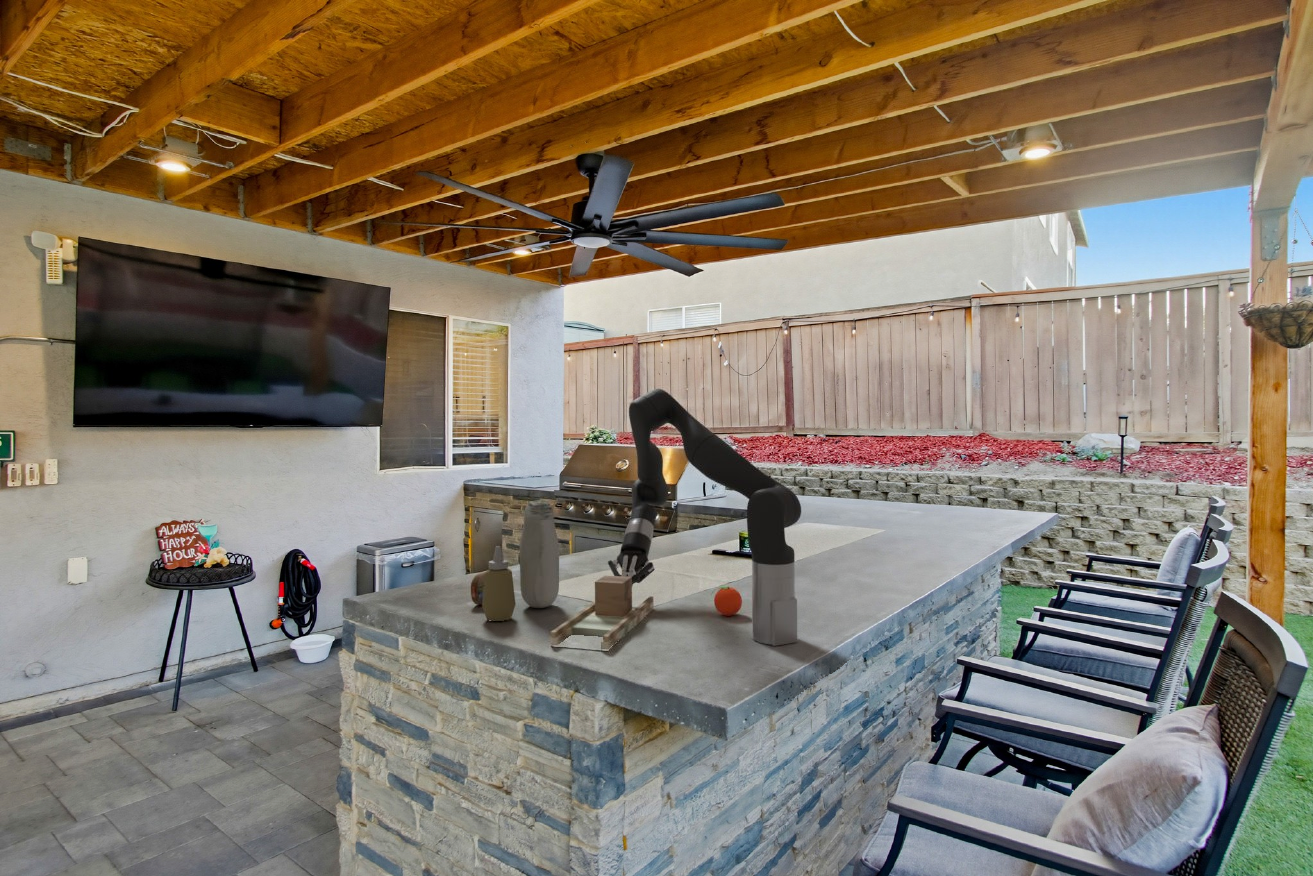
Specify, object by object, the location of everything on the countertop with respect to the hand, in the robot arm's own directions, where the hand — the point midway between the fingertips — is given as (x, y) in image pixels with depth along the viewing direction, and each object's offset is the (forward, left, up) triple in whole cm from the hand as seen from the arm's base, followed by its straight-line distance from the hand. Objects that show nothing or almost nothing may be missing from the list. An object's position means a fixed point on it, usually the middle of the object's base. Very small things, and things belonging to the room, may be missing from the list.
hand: (623, 595), depth 171 cm
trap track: (-9, +8, -4) cm, 13 cm away
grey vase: (+15, +18, -5) cm, 24 cm away
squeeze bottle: (+8, +30, -5) cm, 31 cm away
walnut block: (-6, +5, -2) cm, 8 cm away
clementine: (-13, -22, -5) cm, 26 cm away
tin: (+27, +29, -5) cm, 40 cm away
